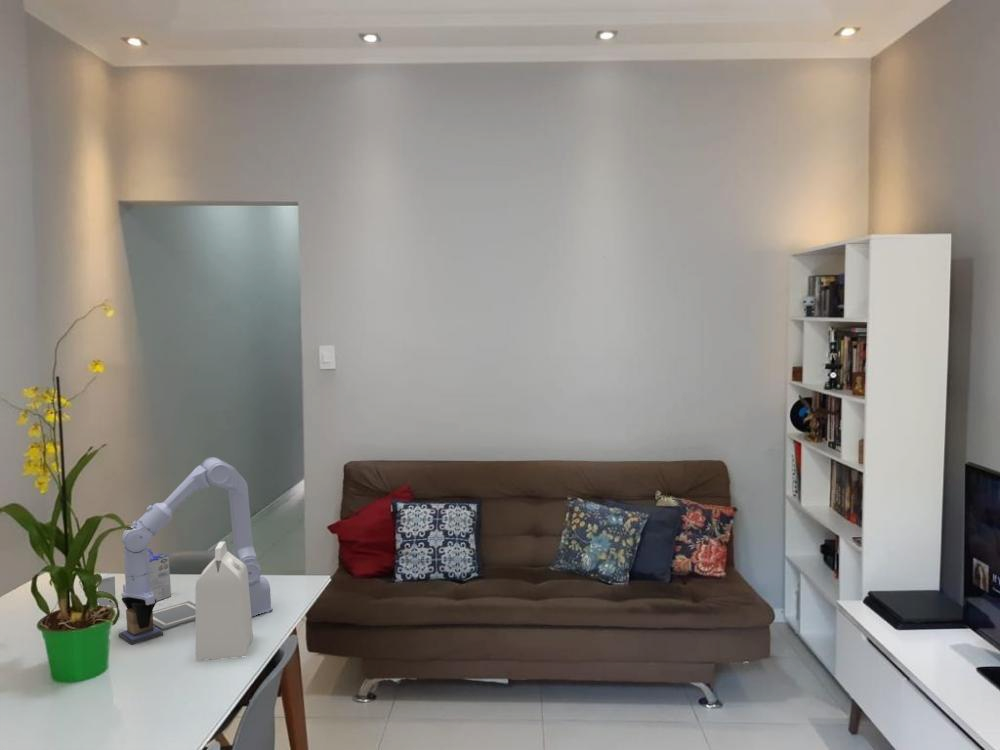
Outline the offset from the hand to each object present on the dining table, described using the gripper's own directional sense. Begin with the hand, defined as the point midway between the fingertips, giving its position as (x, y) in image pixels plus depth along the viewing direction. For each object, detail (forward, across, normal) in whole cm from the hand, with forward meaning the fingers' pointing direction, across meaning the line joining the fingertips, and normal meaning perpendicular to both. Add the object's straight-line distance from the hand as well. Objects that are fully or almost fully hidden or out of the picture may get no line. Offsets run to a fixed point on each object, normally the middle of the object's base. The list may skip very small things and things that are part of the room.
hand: (140, 625), depth 203 cm
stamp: (+2, 0, 0) cm, 2 cm away
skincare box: (+3, -19, -2) cm, 19 cm away
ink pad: (+3, 0, 0) cm, 3 cm away
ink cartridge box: (+3, -24, +13) cm, 27 cm away
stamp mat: (+3, -6, +12) cm, 14 cm away
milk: (+3, +24, +10) cm, 26 cm away
